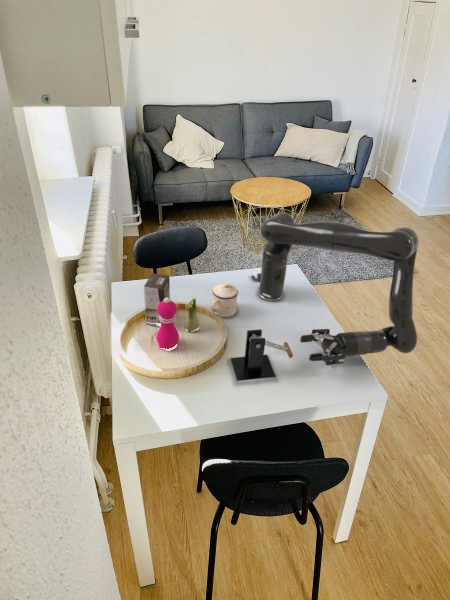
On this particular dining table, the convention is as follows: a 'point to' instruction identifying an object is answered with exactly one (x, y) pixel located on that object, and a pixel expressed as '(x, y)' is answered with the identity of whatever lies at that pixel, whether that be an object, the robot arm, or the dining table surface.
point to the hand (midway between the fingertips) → (305, 348)
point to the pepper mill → (167, 324)
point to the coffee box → (155, 296)
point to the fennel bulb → (192, 317)
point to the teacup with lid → (224, 299)
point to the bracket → (253, 360)
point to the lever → (275, 345)
